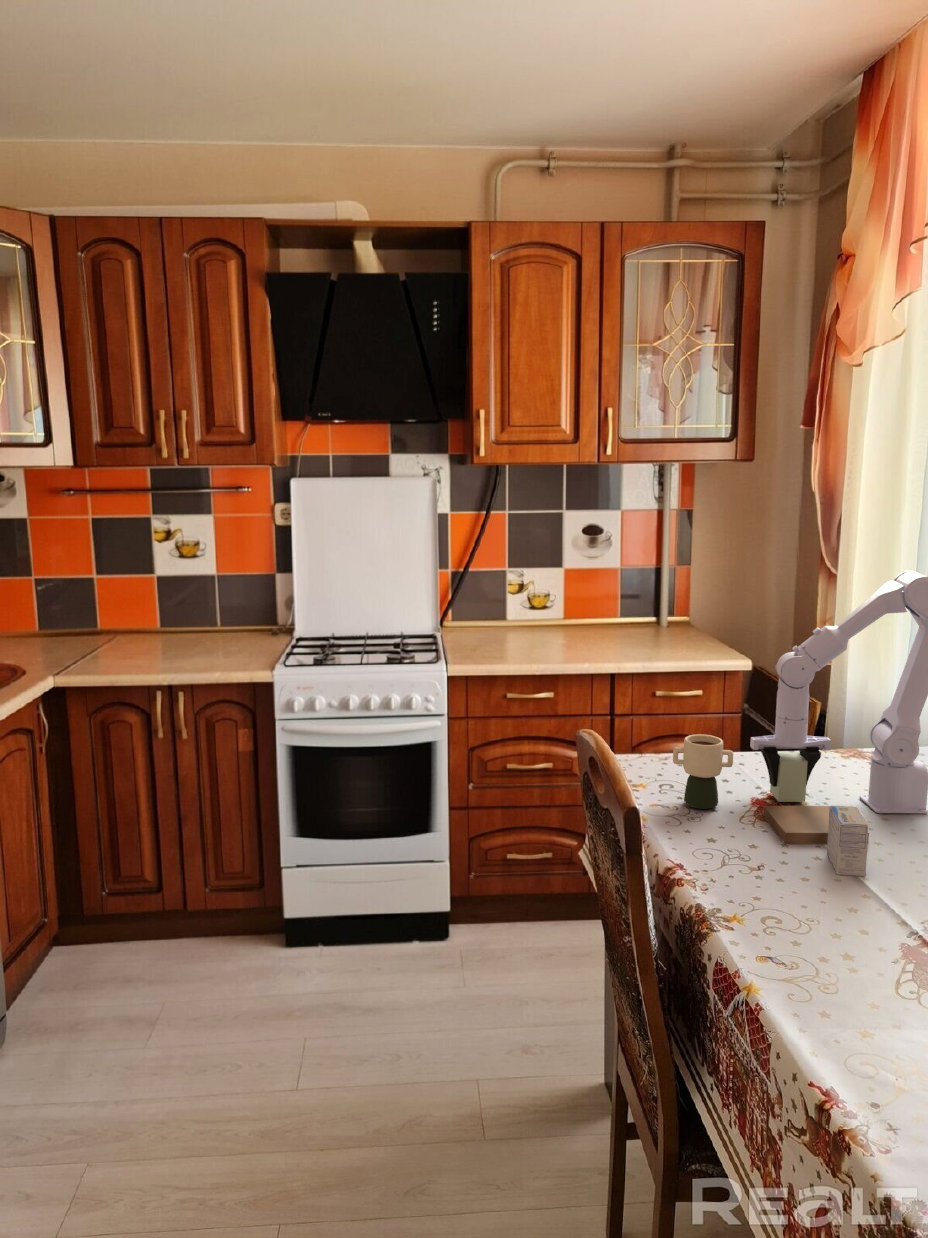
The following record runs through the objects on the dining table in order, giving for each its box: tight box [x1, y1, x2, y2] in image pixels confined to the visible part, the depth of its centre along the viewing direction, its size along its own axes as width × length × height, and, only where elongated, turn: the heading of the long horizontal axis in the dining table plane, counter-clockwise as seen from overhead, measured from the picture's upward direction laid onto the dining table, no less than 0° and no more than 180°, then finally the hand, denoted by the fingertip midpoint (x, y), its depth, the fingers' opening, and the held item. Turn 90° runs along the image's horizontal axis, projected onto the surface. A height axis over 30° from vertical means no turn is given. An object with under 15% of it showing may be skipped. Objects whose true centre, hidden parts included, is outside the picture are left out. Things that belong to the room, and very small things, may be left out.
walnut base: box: [762, 805, 870, 845], centre depth 156 cm, size 14×12×2 cm
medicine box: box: [826, 805, 870, 877], centre depth 141 cm, size 8×4×9 cm, turn 168°
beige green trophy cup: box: [672, 733, 734, 810], centre depth 166 cm, size 11×7×13 cm, turn 78°
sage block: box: [769, 752, 808, 803], centre depth 169 cm, size 5×5×8 cm
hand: (788, 784), depth 169 cm, fingers closed on sage block, 5 cm apart
